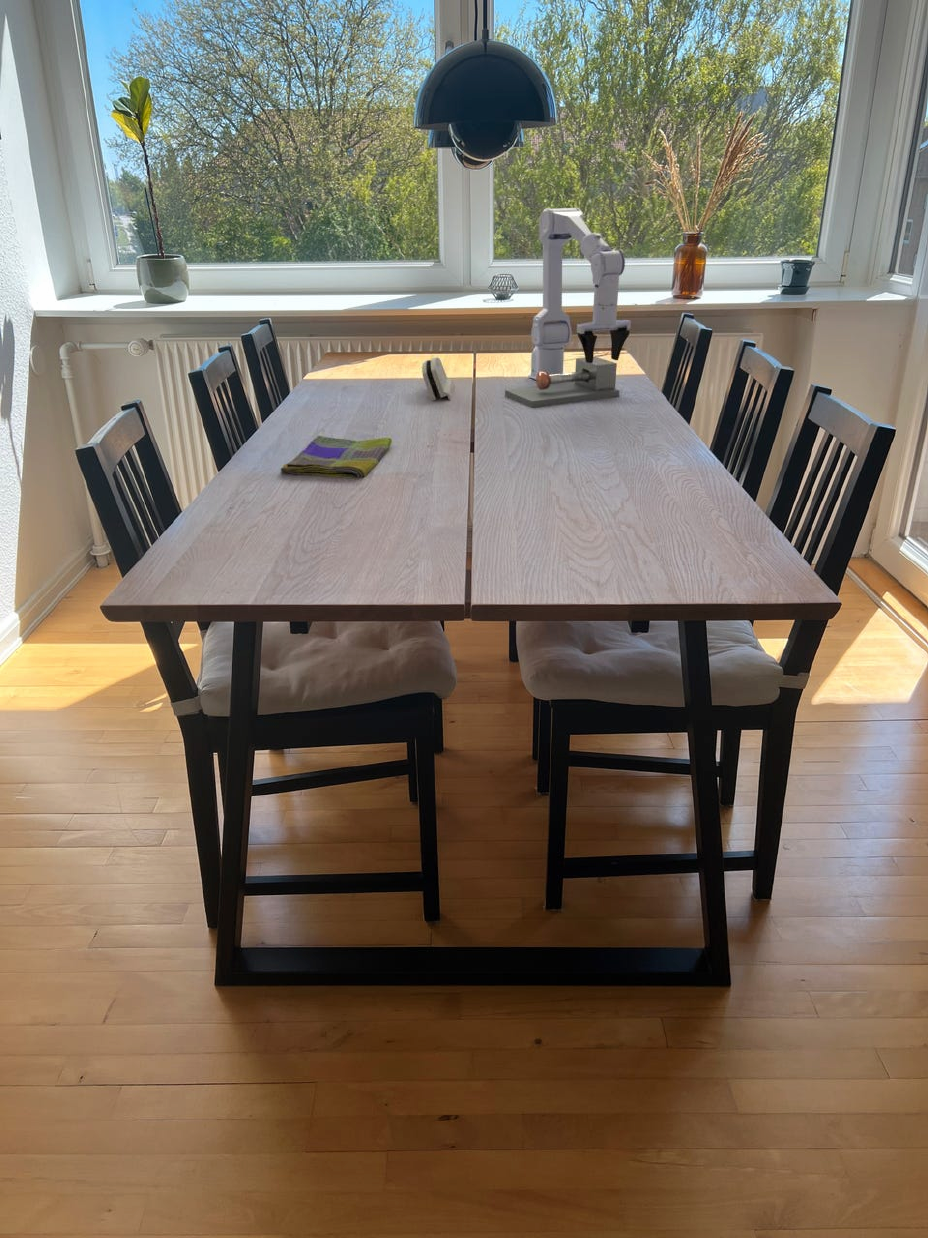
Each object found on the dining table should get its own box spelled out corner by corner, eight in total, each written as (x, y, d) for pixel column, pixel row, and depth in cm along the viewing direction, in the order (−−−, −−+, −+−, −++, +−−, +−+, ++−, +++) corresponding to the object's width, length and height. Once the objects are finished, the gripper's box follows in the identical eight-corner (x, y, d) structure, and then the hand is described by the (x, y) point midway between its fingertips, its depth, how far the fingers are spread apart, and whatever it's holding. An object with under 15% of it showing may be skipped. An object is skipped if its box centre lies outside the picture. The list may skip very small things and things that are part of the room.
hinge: (451, 400, 238) (437, 362, 234) (433, 406, 239) (419, 369, 235) (454, 385, 253) (441, 350, 249) (438, 391, 254) (425, 356, 250)
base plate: (504, 395, 242) (505, 389, 241) (589, 385, 252) (589, 379, 252) (531, 407, 231) (531, 401, 230) (619, 395, 241) (619, 390, 240)
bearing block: (574, 383, 248) (576, 358, 245) (593, 381, 250) (595, 356, 247) (595, 391, 240) (597, 365, 237) (615, 388, 242) (616, 363, 239)
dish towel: (396, 448, 202) (395, 435, 201) (362, 482, 181) (361, 469, 179) (319, 444, 205) (318, 431, 204) (277, 477, 184) (276, 464, 183)
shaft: (535, 387, 240) (536, 370, 238) (583, 382, 245) (584, 365, 243) (544, 391, 236) (545, 373, 234) (593, 385, 242) (594, 368, 240)
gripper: (589, 308, 220) (586, 366, 226) (639, 303, 225) (635, 360, 231) (573, 304, 225) (570, 361, 231) (622, 300, 231) (619, 355, 237)
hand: (601, 360), depth 232 cm, fingers open, 7 cm apart
